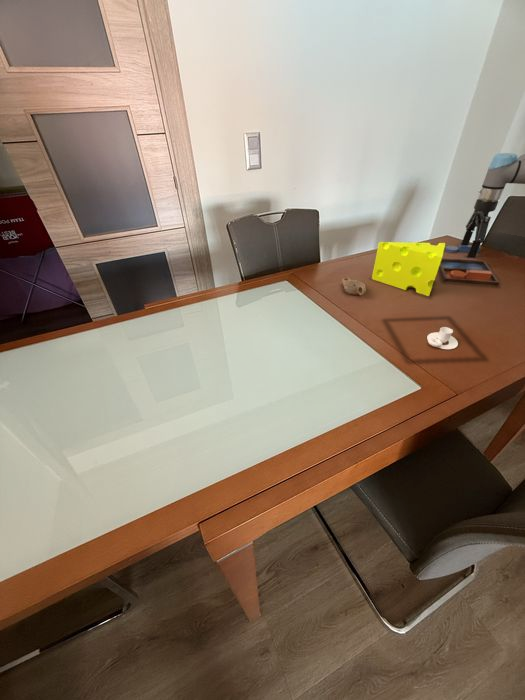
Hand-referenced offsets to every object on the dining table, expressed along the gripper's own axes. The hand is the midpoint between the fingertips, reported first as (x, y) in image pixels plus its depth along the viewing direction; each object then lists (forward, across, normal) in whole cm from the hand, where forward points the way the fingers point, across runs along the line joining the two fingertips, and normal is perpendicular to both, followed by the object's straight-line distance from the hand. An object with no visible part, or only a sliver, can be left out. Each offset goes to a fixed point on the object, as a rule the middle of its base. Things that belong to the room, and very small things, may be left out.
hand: (467, 251), depth 135 cm
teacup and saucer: (0, +71, -24) cm, 75 cm away
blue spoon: (0, 0, -3) cm, 3 cm away
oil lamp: (+1, +47, -47) cm, 66 cm away
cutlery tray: (0, +24, -6) cm, 25 cm away
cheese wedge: (+1, +38, -27) cm, 47 cm away
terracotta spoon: (-1, +29, -6) cm, 29 cm away
